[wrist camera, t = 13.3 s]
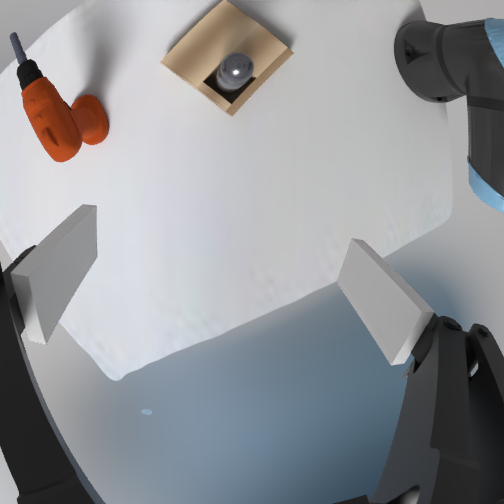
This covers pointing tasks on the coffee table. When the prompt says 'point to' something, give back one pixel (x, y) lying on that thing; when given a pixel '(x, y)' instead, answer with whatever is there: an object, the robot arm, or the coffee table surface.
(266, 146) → the coffee table surface
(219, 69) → the metal round-headed rod
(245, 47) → the block
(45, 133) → the toy drill
